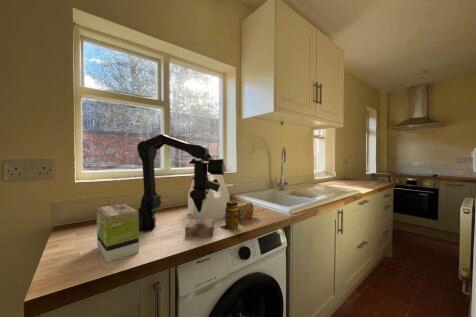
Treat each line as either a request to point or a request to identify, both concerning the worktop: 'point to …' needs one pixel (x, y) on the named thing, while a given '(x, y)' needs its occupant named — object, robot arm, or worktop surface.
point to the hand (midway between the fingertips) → (200, 209)
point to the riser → (199, 228)
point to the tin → (245, 212)
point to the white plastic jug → (212, 199)
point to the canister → (203, 209)
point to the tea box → (117, 231)
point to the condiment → (231, 217)
